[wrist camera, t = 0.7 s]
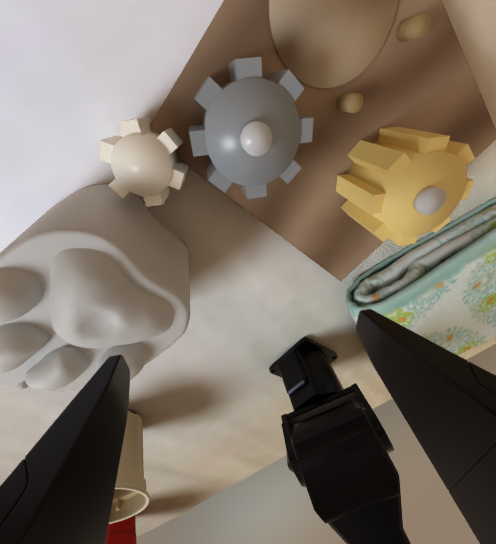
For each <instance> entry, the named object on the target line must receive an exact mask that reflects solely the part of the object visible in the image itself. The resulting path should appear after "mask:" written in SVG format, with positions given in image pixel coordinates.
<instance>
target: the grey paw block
mask: <svg viewBox="0 0 496 544" xmlns="http://www.w3.org/2000/svg"><path fill="white" fill-rule="evenodd" d="M189 318H190V270H189V252H188V250H187V248H186V246H185V245H184V243H183V242H182V241H181V240H180V239H179V238H177V237H176V236H175V235H173V234H172V233H171V232H169V231H168V230H167V229H165V228H164V227H163V226H162V225H161V224H160V223H159V222H158V221H157V220H156V219H155V218H154V216H153V215H152V214H151V212H150V211H149V210H148V208H147V207H146V206H145V204H144V203H143V202H142V201H141V200H140V199H139V198H138V197H137V196H136V195H135V194H133V193H131V192H129V193H128V194H127V195H126V196H125V197H124V198H123V199H122V198H121V197H120V196H119V195H118V194H117V193H116V192H115V191H114V190H113V189H112V188H111V187H110V186H109V184H97V185H91V186H88V187H85V188H82V189H80V190H78V191H76V192H75V193H73V194H71V195H70V196H68V197H67V198H65V199H64V200H62V201H61V202H59V203H58V204H56V205H55V206H54V207H52V208H51V209H50V210H49V211H47V212H46V213H45V214H44V215H43V216H42V217H41V218H39V219H38V220H37V221H36V222H35V223H34V224H33V225H31V226H30V227H29V228H28V229H27V230H26V231H25V232H23V233H22V234H21V235H20V236H19V237H18V238H17V239H16V240H14V241H13V242H12V243H11V244H10V245H9V246H8V247H6V248H5V249H4V250H3V251H2V252H1V253H0V384H1V385H4V386H8V387H12V388H18V389H20V390H22V389H24V390H34V391H69V390H76V389H82V388H83V387H84V386H85V385H86V383H87V382H88V381H89V380H90V379H91V377H92V376H93V375H94V374H95V373H96V371H97V370H98V369H99V368H100V367H101V365H102V364H103V363H104V362H105V361H106V359H107V358H108V357H110V356H114V355H119V354H120V355H123V357H124V359H125V361H126V363H127V365H128V367H129V369H130V380H131V379H132V378H134V377H135V376H136V375H137V374H138V373H139V372H140V371H141V369H142V368H143V366H144V365H145V364H146V363H148V362H149V361H151V360H152V359H154V358H155V357H157V356H158V355H159V354H160V353H161V352H163V351H164V350H166V349H167V348H168V347H170V346H171V345H172V344H173V343H175V342H176V341H177V340H178V339H179V338H180V337H181V336H182V335H183V334H184V332H185V331H186V329H187V326H188V323H189Z"/></svg>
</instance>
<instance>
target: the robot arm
mask: <svg viewBox="0 0 496 544" xmlns="http://www.w3.org/2000/svg"><path fill="white" fill-rule="evenodd" d="M356 329H357V332H358V334H359V336H360V338H361V341H362V343H363V345H364V347H365V349H366V351H367V353H368V356H369V358H370V360H371V362H372V364H373V366H374V368H375V369H376V371H377V373H378V374H379V376H380V378H381V379H382V381H383V383H384V384H385V386H386V388H387V389H388V391H389V393H390V394H391V396H392V398H393V399H394V401H395V403H396V404H397V406H398V407H399V409H400V411H401V412H402V414H403V416H404V418H405V419H406V421H407V422H408V424H409V426H410V428H411V429H412V431H413V433H414V434H415V436H416V438H417V439H418V441H419V443H420V444H421V446H422V448H423V449H424V451H425V453H426V454H427V456H428V457H429V459H430V461H431V463H432V464H433V465H434V467H435V469H436V471H437V472H438V474H439V476H440V477H441V479H442V481H443V482H444V484H445V486H446V487H447V489H448V490H449V493H450V494H451V496H452V498H453V499H454V501H455V503H456V504H457V506H458V508H459V509H460V511H461V512H462V514H463V516H464V518H465V519H466V521H467V523H468V524H469V526H470V528H471V529H472V531H473V533H474V534H475V536H476V538H477V539H478V541H479V543H480V544H496V375H494V374H492V373H490V372H488V371H486V370H484V369H482V368H480V367H478V366H476V365H474V364H473V363H471V362H468V361H467V360H465V359H463V358H461V357H460V356H458V355H456V354H454V353H452V352H450V351H448V350H447V349H445V348H443V347H441V346H439V345H437V344H435V343H433V342H432V341H430V340H428V339H426V338H424V337H422V336H420V335H419V334H417V333H415V332H413V331H411V330H409V329H407V328H406V327H404V326H402V325H400V324H398V323H396V322H394V321H393V320H391V319H389V318H387V317H385V316H383V315H381V314H380V313H378V312H376V311H374V310H372V309H365V310H361V311H360V312H359V315H358V319H357V323H356ZM337 358H338V356H337V354H336V353H335V352H333V351H331V350H329V349H327V348H325V347H324V346H322V345H320V344H318V343H316V342H314V341H312V340H310V339H308V338H303V339H302V340H301V341H299V342H298V343H297V344H296V345H295V346H294V347H293V348H291V349H290V350H289V351H288V352H287V353H286V354H285V355H283V356H282V357H281V358H280V359H279V360H278V361H277V362H275V363H274V364H273V365H272V366H271V367H270V368H269V370H270V373H272V374H274V375H277V376H280V377H282V379H283V382H284V385H285V388H286V391H287V393H288V394H289V397H290V400H291V403H292V406H293V409H294V411H293V412H291V413H289V414H284V415H282V416H281V417H282V422H283V423H282V428H283V433H284V439H285V444H286V449H287V463H288V467H289V469H290V470H291V471H292V472H294V473H295V475H296V477H297V478H298V480H299V482H300V484H301V485H302V486H303V487H306V488H307V491H308V493H309V496H310V499H311V502H312V504H313V508H314V510H315V511H316V513H317V514H318V515H319V517H320V518H321V519H322V520H323V521H324V522H325V523H328V524H329V525H330V526H331V527H332V528H333V529H334V530H335V531H336V533H337V534H338V535H339V536H340V537H341V538H342V539H343V540H344V541H345V542H346V543H347V544H411V543H410V541H409V539H408V537H407V535H406V533H405V531H404V529H403V522H402V508H401V495H400V481H399V474H398V472H397V470H396V468H395V466H394V464H393V462H392V460H391V459H390V457H389V455H388V453H389V452H392V451H394V448H393V446H392V444H391V442H390V440H389V438H388V436H387V434H386V432H385V431H384V429H383V427H382V425H381V423H380V422H379V420H378V418H377V416H376V415H375V413H374V412H373V410H372V408H371V407H370V405H369V404H368V402H367V400H366V399H365V397H364V395H363V394H362V392H361V391H360V389H359V387H358V386H357V384H356V383H355V384H353V385H351V387H348V388H346V389H343V387H342V385H341V383H340V381H339V379H338V377H337V375H336V374H335V372H334V370H333V368H332V366H331V363H332V362H333V361H334V360H336V359H337ZM129 386H130V369H129V367H128V365H127V363H126V361H125V359H124V357H123V355H120V354H119V355H114V356H110V357H108V358H107V359H106V361H105V362H104V363H103V364H102V365H101V367H100V368H99V369H98V370H97V371H96V373H95V374H94V375H93V376H92V377H91V379H90V380H89V381H88V382H87V383H86V385H85V386H84V387H83V388H82V389H81V391H80V392H79V393H78V394H77V395H76V397H75V398H74V399H73V400H72V401H71V403H70V404H69V405H68V406H67V407H66V409H65V410H64V411H63V412H62V413H61V415H60V416H59V417H58V418H57V419H56V420H55V422H54V423H53V424H52V425H51V426H50V428H49V429H48V430H47V431H46V432H45V434H44V435H43V436H42V437H41V438H40V440H39V441H38V442H37V443H36V444H35V446H34V447H33V448H32V449H31V450H30V452H29V453H28V454H27V455H26V456H25V459H23V460H22V461H21V462H20V463H19V465H18V466H17V467H16V468H15V469H14V471H13V472H12V473H11V474H10V475H9V476H8V478H7V479H6V480H5V481H4V482H3V483H2V485H1V486H0V544H105V542H106V536H107V531H108V525H109V519H110V514H111V508H112V503H113V497H114V491H115V486H116V480H117V474H118V469H119V463H120V457H121V452H122V446H123V440H124V435H125V429H126V423H127V416H128V402H129Z"/></svg>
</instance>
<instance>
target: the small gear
mask: <svg viewBox="0 0 496 544" xmlns="http://www.w3.org/2000/svg"><path fill="white" fill-rule="evenodd" d="M118 125H119V128H120V131H121V134H122V137H123V138H122V137H119V136H113V137H110V138H107V139H103V140H100V145H99V154H98V160H101V161H103V162H106V163H109V164H111V169H112V172H113V174H114V176H115V179H114V180H113V181H112V182H111V183H110V184H109V186H110V187H111V188H112V189H113V190H114V191H115V192H116V193H117V194H118V195H119V196H120V197H121V198H122V199H123V198H124V197H125V196H126V195H127V194H128V193H129V192H131V193H133V194H136V195H139V196H143V198H144V201H145V204H146V207H150V206H157V205H163V204H164V202H165V200H166V199H167V197H168V195H169V194H170V190H169V186H170V187H173V188H175V189H178V190H180V188H181V186H182V184H183V182H184V180H185V178H186V174H187V171H188V167H189V165H187V164H185V163H183V162H181V161H179V159H178V158H177V155H176V152H175V149H176V148H178V147H179V146H180V145H181V144H182V143H183V141H182V140H181V139H180V137H179V136H178V135H177V134H176V133H175V132H174V130H173V129H172V128H169V129H167V130H165V131H163V132H162V133H161V134H158V133H155V132H151V130H150V125H151V123H150V119H149V117H146V118H139V119H132V120H127V121H121V122H118Z"/></svg>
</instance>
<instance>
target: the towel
mask: <svg viewBox="0 0 496 544" xmlns="http://www.w3.org/2000/svg"><path fill="white" fill-rule="evenodd" d="M346 302H347V304H348V306H349V310H350V313H351V316H352V318H353V320H354V322H355V324H356V323H357V319H358V315H359V312H360V311H361V310H365V309H372V310H374V311H376V312H378V313H380V314H381V315H383V316H385V317H387V318H389V319H391V320H393V321H394V322H396V323H398V324H400V325H402V326H404V327H406V328H407V329H409V330H411V331H413V332H415V333H417V334H419V335H420V336H422V337H424V338H426V339H428V340H430V341H432V342H433V343H435V344H437V345H439V346H441V347H443V348H445V349H447V350H448V351H450V352H452V353H454V354H456V355H459V354H461V353H463V352H465V351H467V350H469V349H472V348H474V347H476V346H478V345H480V344H482V343H485V342H487V341H489V340H491V339H493V338H494V337H496V197H494V198H492V199H490V200H489V201H487V202H485V203H483V204H482V205H480V206H478V207H477V208H475V209H473V210H472V211H470V212H468V213H466V214H464V215H463V216H461V217H459V218H457V219H456V220H454V221H453V222H451V223H449V224H447V225H445V226H444V227H442V228H441V229H440V230H439V231H438V232H437V233H435V232H433V233H431V234H429V235H427V236H426V237H424V238H422V239H420V240H418V241H417V242H416V244H411V245H409V246H408V247H406V248H404V249H402V250H401V251H399V252H397V253H396V254H394V255H392V256H390V257H388V258H387V259H385V260H383V261H382V262H380V263H378V264H377V265H375V266H374V267H372V268H370V269H369V270H368V271H366V272H365V273H364V274H362V275H361V276H360V277H359V278H358V279H357V280H356V281H355V282H354V283H353V284H352V285H351V286H350V287H349V288H348V290H347V292H346Z"/></svg>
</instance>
